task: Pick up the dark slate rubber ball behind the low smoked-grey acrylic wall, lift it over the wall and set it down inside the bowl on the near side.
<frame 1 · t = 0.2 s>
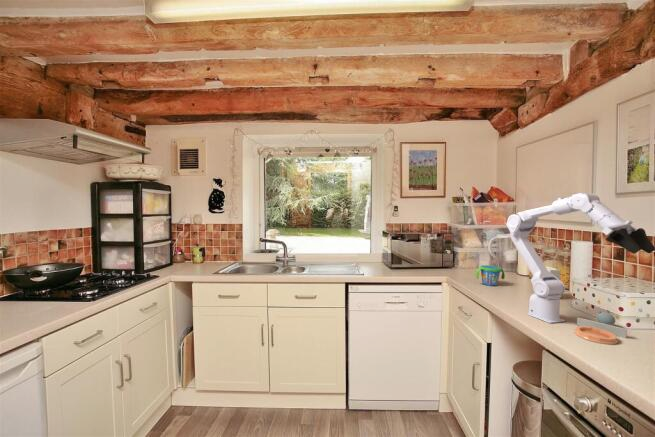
hand: (645, 251, 88), 31 cm above the countertop, tool tilted 45°, fingers open, 7 cm apart
acrylic wall: (600, 331, 105), on the countertop
bowl: (595, 336, 100), on the countertop
ball: (605, 319, 109), point 2 cm above the countertop
snack cup: (489, 284, 167), on the countertop
skincare box: (546, 297, 144), on the countertop
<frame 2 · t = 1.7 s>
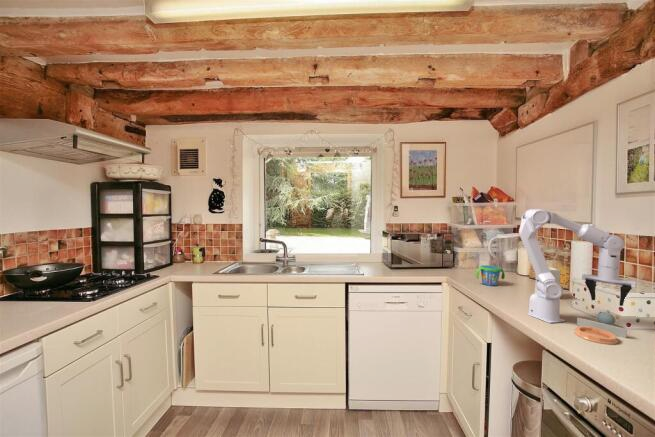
hand: (606, 302, 109), 9 cm above the countertop, tool pointing down, fingers open, 7 cm apart
nothing on the countertop moved.
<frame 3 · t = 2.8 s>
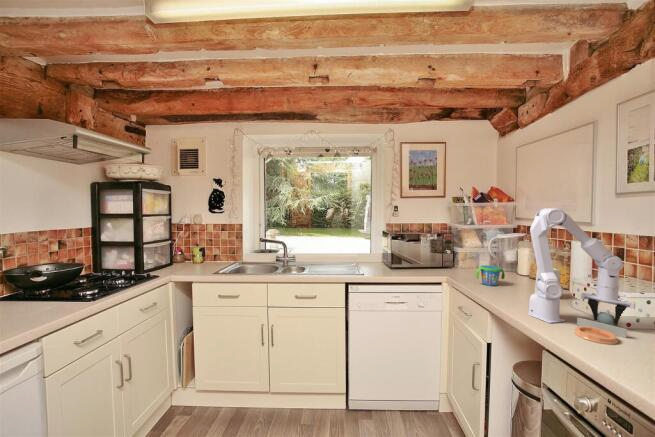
hand: (605, 322, 109), 1 cm above the countertop, tool pointing down, fingers closed on ball, 5 cm apart
ball: (605, 319, 109), point 2 cm above the countertop, touching gripper
everything else where it was.
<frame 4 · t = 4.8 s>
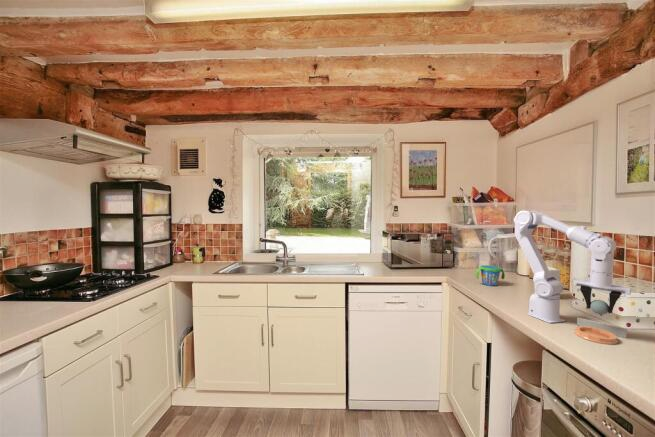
hand: (599, 310, 102), 8 cm above the countertop, tool pointing down, fingers closed on ball, 5 cm apart
ball: (599, 307, 102), point 9 cm above the countertop, touching gripper
everything else where it was.
when the fingers open (3 cm above the countertop, at t = 6.7 s): ball stays where it is, resting on bowl.
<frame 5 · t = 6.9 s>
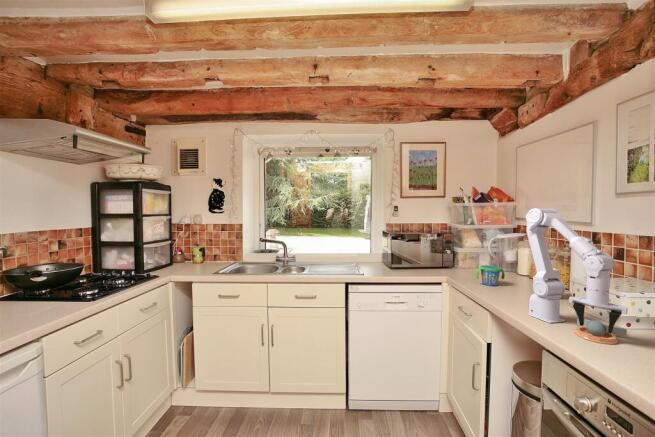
hand: (595, 328, 100), 3 cm above the countertop, tool pointing down, fingers open, 7 cm apart
ball: (596, 328, 99), point 3 cm above the countertop, touching bowl
everything else where it was.
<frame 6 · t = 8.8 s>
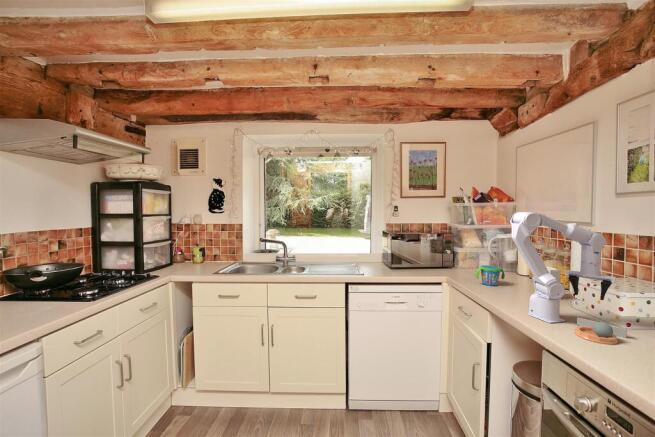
hand: (588, 297, 114), 9 cm above the countertop, tool pointing down, fingers open, 7 cm apart
ball: (602, 329, 98), point 3 cm above the countertop, tilted 43°, touching bowl
everything else where it was.
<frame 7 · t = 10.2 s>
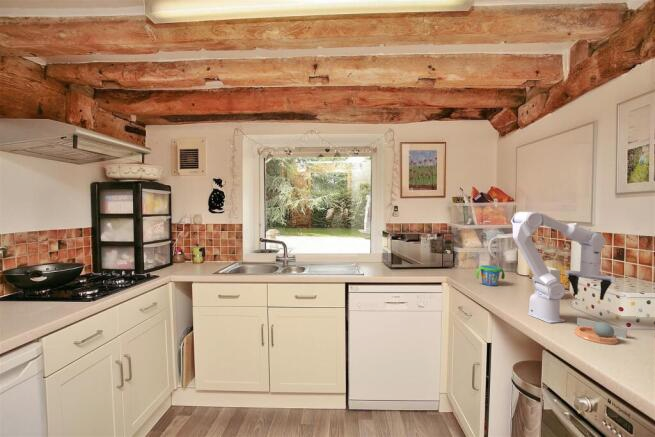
hand: (588, 296, 114), 9 cm above the countertop, tool pointing down, fingers open, 7 cm apart
ball: (603, 330, 98), point 3 cm above the countertop, tilted 48°, touching bowl
everything else where it was.
at the end: ball 2.0 cm off-centre on the bowl, point 3.1 cm above the bowl's base; the gripper is holding nothing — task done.
